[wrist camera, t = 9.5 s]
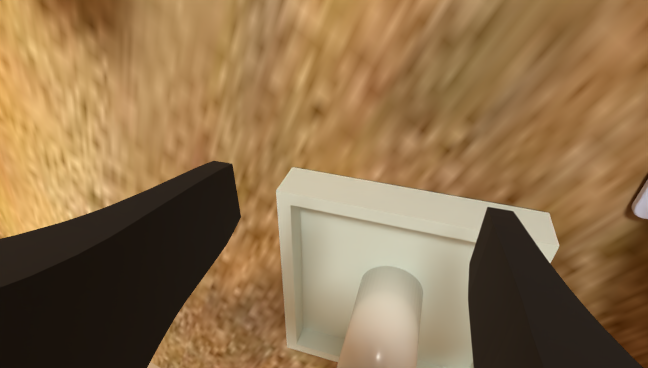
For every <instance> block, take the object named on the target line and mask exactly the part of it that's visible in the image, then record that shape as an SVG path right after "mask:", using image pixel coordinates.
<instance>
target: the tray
mask: <svg viewBox="0 0 648 368" xmlns="http://www.w3.org/2000/svg"><path fill="white" fill-rule="evenodd" d="M276 196H277V210H278V224H279V238H280V252H281V267H282V281H283V295H284V309H285V323H286V338H287V347H288V348H291V349H295V350H298V351H301V352H305V353H308V354H311V355H315V356H318V357H322V358H325V359H328V360H332V361H335V362H338V361H339V357H340V354H341V350H342V347H343V343H344V339H345V336H346V332H347V329H348V325H349V322H350V318H351V314H352V311H353V307H354V304H355V300H356V297H357V293H358V289H359V286H360V282H361V279H362V277H363V275H364V274H365V273H366V272H367V271H368V270H370V269H372V268H375V267H379V266H392V267H397V268H400V269H403V270H405V271H407V272H409V273H410V274H412V275H413V276H414V277H415V278H416V279H417V280H418V281H419V282H420V284H421V286H422V288H423V302H422V312H421V323H420V334H419V344H418V355H417V366H416V368H474V366H473V354H472V343H471V331H470V320H469V307H468V280H469V263H470V260H471V257H472V254H473V250H474V247H475V244H476V241H477V238H478V235H479V232H480V228H481V225H482V222H483V219H484V216H485V213H486V210H487V207H492V208H498V209H504V210H510V211H514V213H515V214H516V216H517V217H518V218H519V220H520V221H521V223H522V224H523V226H524V227H525V229H526V230H527V231H528V233H529V234H530V236H531V237H532V239H533V240H534V242H535V243H536V244H537V246H538V247H539V249H540V250H541V252H542V253H543V254H544V256H545V257H546V259H547V260H548V261H549V263H551V261H552V259H553V257H554V255H555V253H556V251H557V250H558V248H559V243H558V240H557V237H556V233H555V230H554V227H553V224H552V221H551V217H550V214H549V213H547V212H541V211H535V210H530V209H524V208H519V207H513V206H507V205H502V204H496V203H491V202H485V201H479V200H474V199H468V198H463V197H457V196H451V195H446V194H440V193H435V192H429V191H423V190H418V189H412V188H407V187H401V186H395V185H390V184H384V183H379V182H373V181H367V180H362V179H356V178H350V177H345V176H339V175H334V174H328V173H322V172H317V171H311V170H306V169H300V168H294V167H292V168H291V170H290V171H289V173H288V174H287V176H286V177H285V179H284V180H283V181H282V183H281V184H280V186H279V187H278V189H277V190H276Z"/></svg>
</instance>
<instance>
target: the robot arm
mask: <svg viewBox="0 0 648 368" xmlns="http://www.w3.org/2000/svg"><path fill="white" fill-rule="evenodd" d="M631 208H632V211H633V212H634V214H635V215H636V216H637V217H640V218H644V219H648V180H647V181H646V183H645V184H644V186H643V188H642V189H641V191H640V192H639V194H638V196H637V197H636V199H635V200H634V202H633V204H632V207H631ZM240 218H241V215H240V209H239V202H238V196H237V190H236V184H235V178H234V172H233V166H232V164H230V163H224V162H218V161H213V162H210V163H207V164H204V165H202V166H199V167H197V168H195V169H193V170H190V171H188V172H186V173H184V174H181V175H179V176H177V177H175V178H173V179H171V180H168V181H166V182H164V183H162V184H160V185H157V186H155V187H153V188H151V189H149V190H146V191H144V192H142V193H139V194H137V195H134V196H132V197H130V198H127V199H125V200H123V201H120V202H118V203H115V204H113V205H111V206H108V207H105V208H103V209H100V210H97V211H95V212H92V213H89V214H86V215H83V216H80V217H77V218H74V219H71V220H68V221H65V222H62V223H58V224H55V225H51V226H48V227H44V228H40V229H37V230H33V231H30V232H26V233H22V234H19V235H15V236H11V237H7V238H2V239H0V368H147V367H148V365H149V363H150V361H151V359H152V357H153V355H154V354H155V352H156V350H157V348H158V346H159V344H160V343H161V341H162V339H163V337H164V336H165V334H166V332H167V331H168V329H169V327H170V325H171V324H172V322H173V320H174V318H175V317H176V315H177V314H178V312H179V311H180V309H181V308H182V306H183V305H184V303H185V302H186V300H187V299H188V297H189V296H190V295H191V293H192V292H193V291H194V289H195V288H196V286H197V285H198V284H199V282H200V281H201V280H202V278H203V277H204V275H205V274H206V273H207V271H208V270H209V269H210V267H211V266H212V264H213V263H214V262H215V260H216V259H217V257H218V256H219V255H220V253H221V252H222V250H223V249H224V247H225V246H226V244H227V243H228V241H229V239H230V237H231V235H232V234H233V232H234V230H235V228H236V226H237V224H238V222H239V220H240ZM468 307H469V320H470V331H471V343H472V354H473V366H474V368H643V367H642V366H641V365H640V364H639V363H638V362H637V361H636V360H635V359H634V358H633V357H632V356H631V355H630V354H629V353H628V352H627V351H626V350H625V349H624V348H623V347H622V346H621V345H620V344H619V343H618V342H617V341H616V340H615V339H614V338H613V337H612V336H611V335H610V334H609V333H608V332H607V331H606V330H605V329H604V328H603V327H602V325H601V324H600V323H599V322H598V321H597V320H596V319H595V318H594V317H593V316H592V314H591V313H590V312H589V311H588V310H587V309H586V307H585V306H584V305H583V304H582V303H581V302H580V300H579V299H578V298H577V297H576V296H575V295H574V293H573V292H572V291H571V290H570V289H569V287H568V286H567V285H566V284H565V282H564V281H563V280H562V278H561V277H560V276H559V274H558V273H557V272H556V271H555V269H554V268H553V267H552V265H551V264H550V263H549V261H548V260H547V259H546V257H545V256H544V254H543V253H542V252H541V250H540V249H539V247H538V246H537V244H536V243H535V242H534V240H533V239H532V237H531V236H530V234H529V233H528V231H527V230H526V229H525V227H524V226H523V224H522V223H521V221H520V220H519V218H518V217H517V216H516V214H515V213H514V211H510V210H504V209H498V208H492V207H487V210H486V213H485V216H484V219H483V222H482V225H481V228H480V232H479V235H478V238H477V241H476V244H475V247H474V250H473V254H472V257H471V260H470V263H469V280H468Z"/></svg>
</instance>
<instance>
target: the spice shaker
mask: <svg viewBox="0 0 648 368" xmlns="http://www.w3.org/2000/svg"><path fill="white" fill-rule="evenodd" d="M422 302H423V288H422V286H421V284H420V282H419V281H418V280H417V279H416V278H415V277H414V276H413V275H412V274H410V273H409V272H407V271H405V270H403V269H400V268H397V267H392V266H379V267H375V268H372V269H370V270H368V271H367V272H366V273H365V274H364V275H363V277H362V279H361V282H360V286H359V289H358V293H357V297H356V300H355V304H354V307H353V311H352V314H351V318H350V322H349V325H348V329H347V332H346V336H345V339H344V343H343V347H342V350H341V354H340V357H339V361H338V364H337V368H416V366H417V355H418V344H419V334H420V323H421V312H422Z"/></svg>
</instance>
